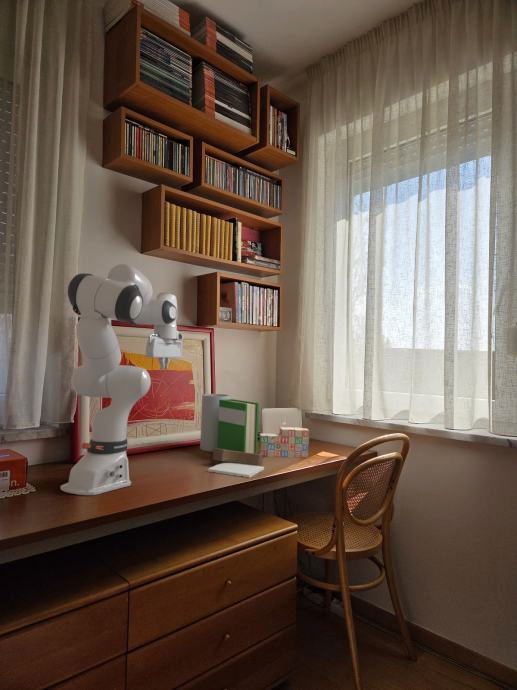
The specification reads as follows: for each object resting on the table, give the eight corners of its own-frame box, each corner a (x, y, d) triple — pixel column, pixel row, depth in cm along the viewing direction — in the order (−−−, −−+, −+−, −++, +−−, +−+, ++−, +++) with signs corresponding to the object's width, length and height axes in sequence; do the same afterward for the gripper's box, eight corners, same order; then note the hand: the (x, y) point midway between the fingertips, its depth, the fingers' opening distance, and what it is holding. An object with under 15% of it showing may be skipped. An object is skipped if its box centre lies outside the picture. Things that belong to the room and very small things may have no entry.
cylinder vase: (226, 452, 205) (228, 396, 205) (198, 451, 205) (200, 395, 205) (228, 447, 217) (230, 394, 218) (201, 446, 217) (203, 393, 218)
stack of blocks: (259, 457, 199) (260, 428, 200) (258, 454, 206) (259, 426, 206) (308, 458, 201) (309, 429, 201) (305, 454, 207) (306, 427, 208)
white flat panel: (249, 477, 165) (249, 474, 165) (207, 471, 171) (207, 468, 171) (264, 469, 177) (264, 466, 177) (224, 463, 184) (224, 461, 184)
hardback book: (256, 460, 193) (258, 403, 193) (243, 462, 188) (245, 403, 188) (230, 452, 206) (232, 399, 206) (217, 454, 201) (219, 399, 201)
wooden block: (211, 459, 180) (254, 465, 174) (213, 447, 181) (256, 453, 175) (220, 460, 188) (261, 466, 182) (221, 449, 189) (263, 454, 184)
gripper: (156, 333, 171) (154, 370, 171) (185, 336, 190) (184, 369, 190) (142, 332, 174) (140, 369, 173) (172, 335, 192) (171, 368, 192)
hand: (163, 369), depth 182 cm, fingers closed
